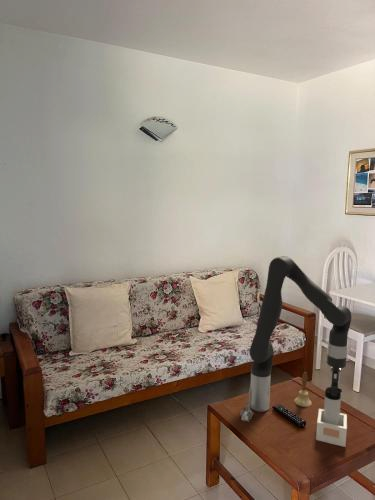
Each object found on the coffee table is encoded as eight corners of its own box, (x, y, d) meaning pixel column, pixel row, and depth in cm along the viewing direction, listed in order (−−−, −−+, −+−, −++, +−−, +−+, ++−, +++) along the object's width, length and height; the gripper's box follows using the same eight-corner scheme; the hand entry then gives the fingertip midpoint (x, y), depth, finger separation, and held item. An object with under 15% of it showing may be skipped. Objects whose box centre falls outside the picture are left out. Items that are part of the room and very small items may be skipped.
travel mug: (340, 438, 158) (343, 393, 156) (324, 436, 160) (326, 391, 157) (338, 429, 164) (340, 386, 162) (322, 428, 166) (324, 384, 163)
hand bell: (310, 398, 192) (311, 369, 190) (313, 407, 184) (314, 376, 182) (293, 397, 193) (294, 367, 191) (295, 406, 185) (297, 375, 183)
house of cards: (237, 408, 183) (238, 393, 181) (255, 413, 179) (255, 398, 178) (230, 418, 175) (231, 402, 174) (249, 423, 171) (249, 407, 170)
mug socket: (316, 440, 159) (317, 422, 158) (318, 425, 169) (319, 408, 168) (345, 447, 154) (346, 429, 153) (345, 431, 165) (346, 414, 164)
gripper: (328, 346, 165) (325, 381, 167) (326, 359, 152) (323, 396, 154) (346, 349, 162) (343, 385, 164) (346, 362, 149) (343, 400, 151)
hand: (334, 390), depth 159 cm, fingers open, 8 cm apart
